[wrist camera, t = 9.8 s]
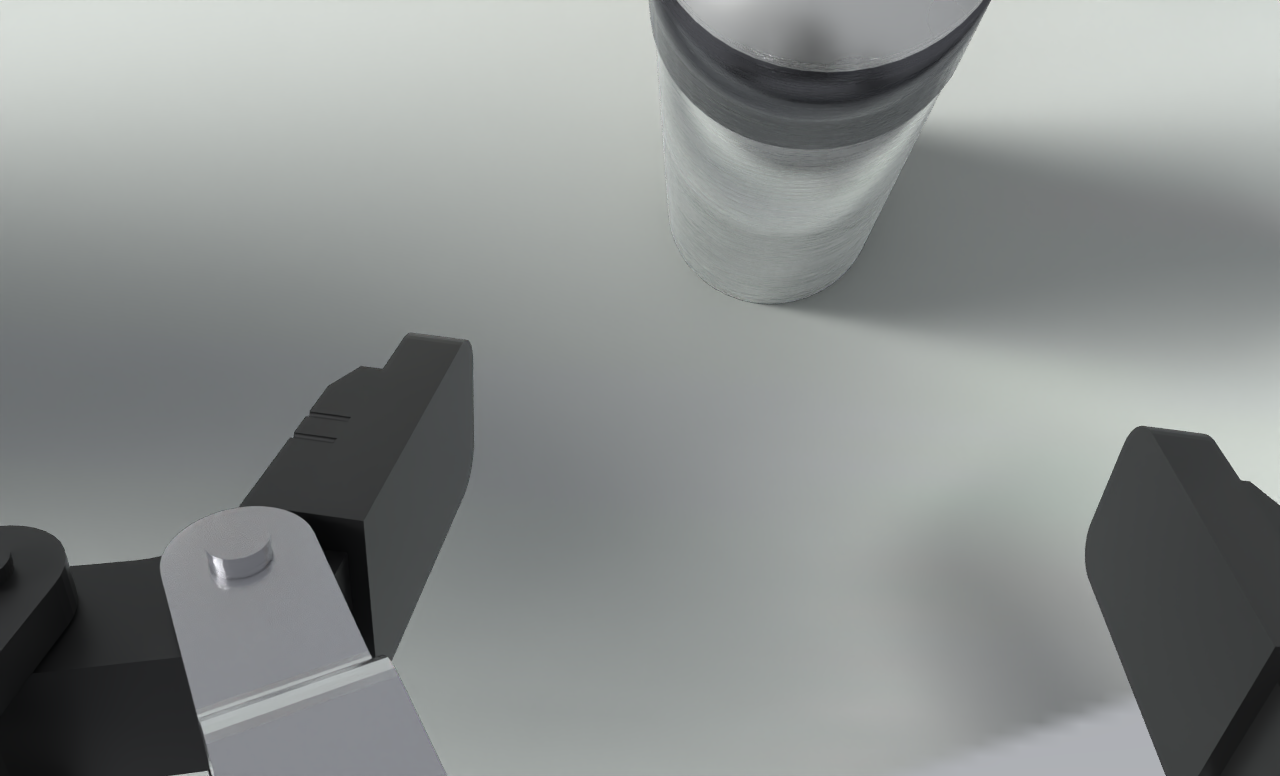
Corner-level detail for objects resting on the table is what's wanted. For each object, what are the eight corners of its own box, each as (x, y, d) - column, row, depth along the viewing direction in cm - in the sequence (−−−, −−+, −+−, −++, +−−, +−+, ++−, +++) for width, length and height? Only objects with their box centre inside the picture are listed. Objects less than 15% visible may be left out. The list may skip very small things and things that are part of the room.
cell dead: (640, 273, 21) (586, -18, 11) (700, 88, 22) (703, -348, 12) (842, 331, 21) (987, 84, 10) (897, 140, 22) (1082, -267, 11)
